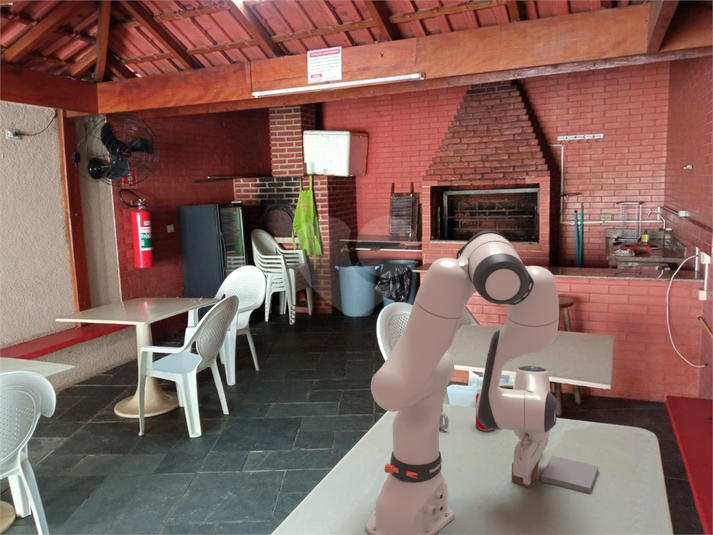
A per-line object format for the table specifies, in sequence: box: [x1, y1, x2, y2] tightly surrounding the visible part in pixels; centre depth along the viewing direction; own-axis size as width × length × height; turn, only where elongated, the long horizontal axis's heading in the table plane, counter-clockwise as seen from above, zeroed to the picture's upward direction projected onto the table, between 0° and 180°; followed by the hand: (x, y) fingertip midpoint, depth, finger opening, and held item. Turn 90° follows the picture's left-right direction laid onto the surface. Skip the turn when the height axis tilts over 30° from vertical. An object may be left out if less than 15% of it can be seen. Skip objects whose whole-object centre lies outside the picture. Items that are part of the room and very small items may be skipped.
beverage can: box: [475, 389, 492, 432], centre depth 173 cm, size 6×6×12 cm
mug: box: [439, 407, 449, 430], centre depth 176 cm, size 10×7×7 cm, turn 37°
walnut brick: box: [511, 461, 540, 489], centre depth 143 cm, size 5×5×5 cm
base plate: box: [540, 455, 599, 495], centre depth 145 cm, size 12×12×2 cm
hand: (530, 476), depth 142 cm, fingers closed on walnut brick, 5 cm apart
